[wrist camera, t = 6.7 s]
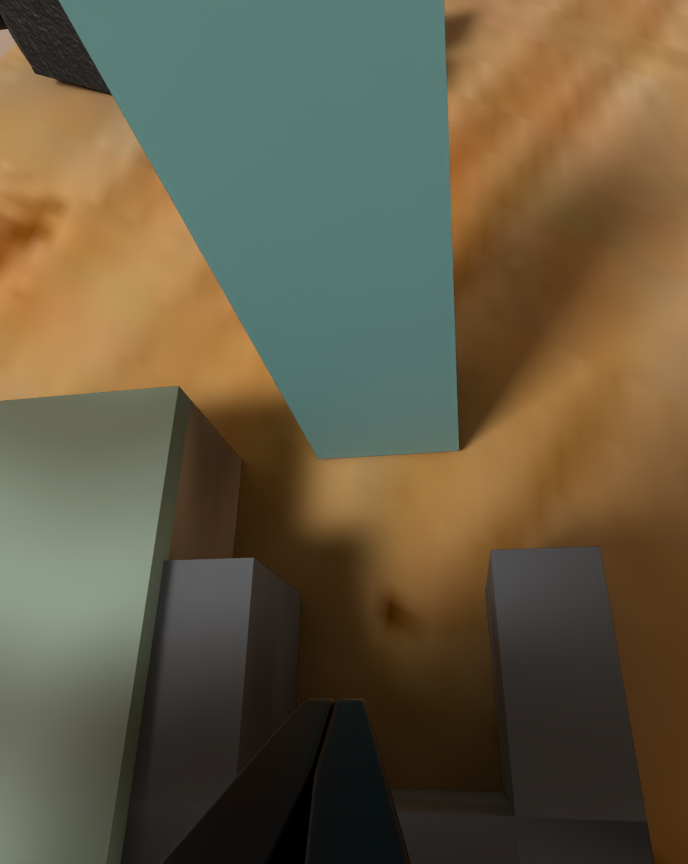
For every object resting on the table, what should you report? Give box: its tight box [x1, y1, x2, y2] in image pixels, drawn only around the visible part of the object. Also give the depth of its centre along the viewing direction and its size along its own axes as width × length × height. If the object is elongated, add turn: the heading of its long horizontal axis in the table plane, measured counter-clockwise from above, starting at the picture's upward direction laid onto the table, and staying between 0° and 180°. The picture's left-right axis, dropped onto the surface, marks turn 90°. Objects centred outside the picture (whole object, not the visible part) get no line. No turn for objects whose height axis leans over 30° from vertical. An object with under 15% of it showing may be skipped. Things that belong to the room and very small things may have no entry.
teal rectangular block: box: [59, 0, 459, 459], centre depth 11 cm, size 3×4×16 cm
